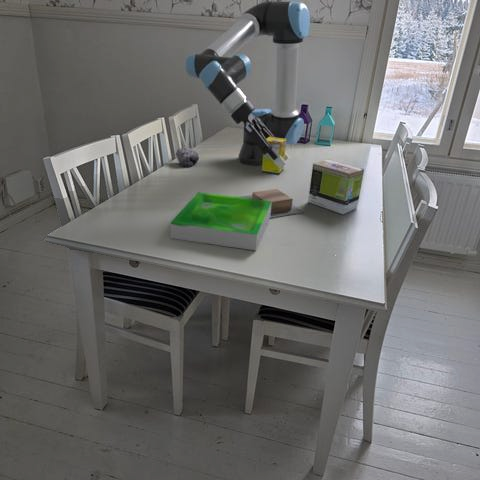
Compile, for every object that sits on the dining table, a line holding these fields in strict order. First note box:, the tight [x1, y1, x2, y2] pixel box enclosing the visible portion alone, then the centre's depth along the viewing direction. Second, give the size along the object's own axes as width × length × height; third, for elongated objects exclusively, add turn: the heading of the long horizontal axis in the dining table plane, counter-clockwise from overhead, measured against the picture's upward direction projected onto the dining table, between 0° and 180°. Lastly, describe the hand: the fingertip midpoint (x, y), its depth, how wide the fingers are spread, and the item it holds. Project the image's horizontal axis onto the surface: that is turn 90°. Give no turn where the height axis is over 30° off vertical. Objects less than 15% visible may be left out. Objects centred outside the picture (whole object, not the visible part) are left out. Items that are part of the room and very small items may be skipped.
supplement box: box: [261, 137, 287, 176], centre depth 137 cm, size 6×6×11 cm
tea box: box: [308, 159, 365, 215], centre depth 147 cm, size 15×10×15 cm, turn 45°
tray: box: [170, 191, 272, 251], centre depth 128 cm, size 25×25×5 cm
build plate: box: [240, 188, 304, 220], centre depth 146 cm, size 20×16×4 cm
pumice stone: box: [175, 146, 200, 168], centre depth 183 cm, size 10×8×10 cm
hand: (284, 163), depth 137 cm, fingers closed on supplement box, 6 cm apart
